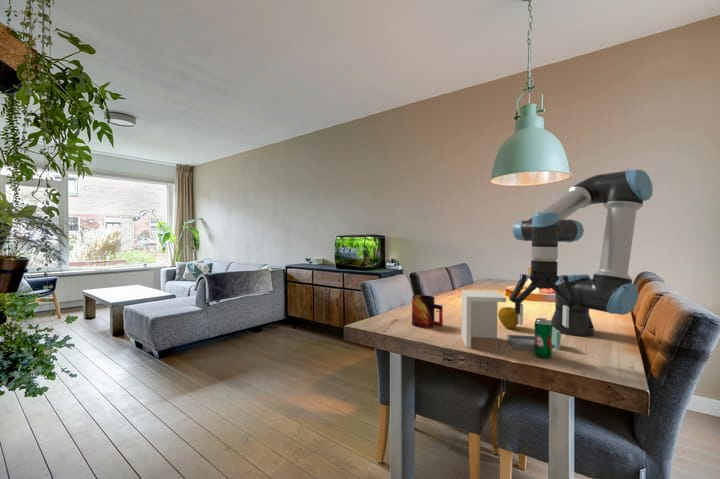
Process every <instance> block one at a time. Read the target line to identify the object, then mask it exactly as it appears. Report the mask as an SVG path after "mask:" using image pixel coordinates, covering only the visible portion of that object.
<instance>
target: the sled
mask: <svg viewBox="0 0 720 479" xmlns="http://www.w3.org/2000/svg"><path fill="white" fill-rule="evenodd" d="M561 334H562V333H561V332H560V331H558V330H557V329H555V328H554V327H552V348H555V349H556V350H561V343H562V342H561V340H562V338H561V337H562V336H561ZM507 341H508V342H509V343H510V344H511V346H512V347H513V348H514V350H522V351H523V350H524V351H525V350H526V351H534V335H525V334H524V335H522V334H507Z"/></svg>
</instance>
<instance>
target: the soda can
mask: <svg viewBox="0 0 720 479" xmlns="http://www.w3.org/2000/svg"><path fill="white" fill-rule="evenodd" d="M551 320H552V319H549V318H546V317H545V318H544V317H538V318H535V321H534V335H533V336H534V350H533V351H534V352H533V353H534V356H536V357H537V358H540V359H550V358H551V357H552V356H553V347H552V323H551Z"/></svg>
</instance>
